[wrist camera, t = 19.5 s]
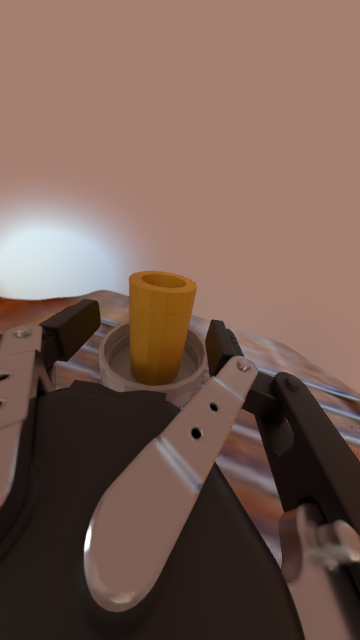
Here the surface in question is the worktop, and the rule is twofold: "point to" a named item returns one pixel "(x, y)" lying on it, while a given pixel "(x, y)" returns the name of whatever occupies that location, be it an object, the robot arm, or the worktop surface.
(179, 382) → the bowl
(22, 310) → the worktop surface
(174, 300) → the yellow hollow cylinder
